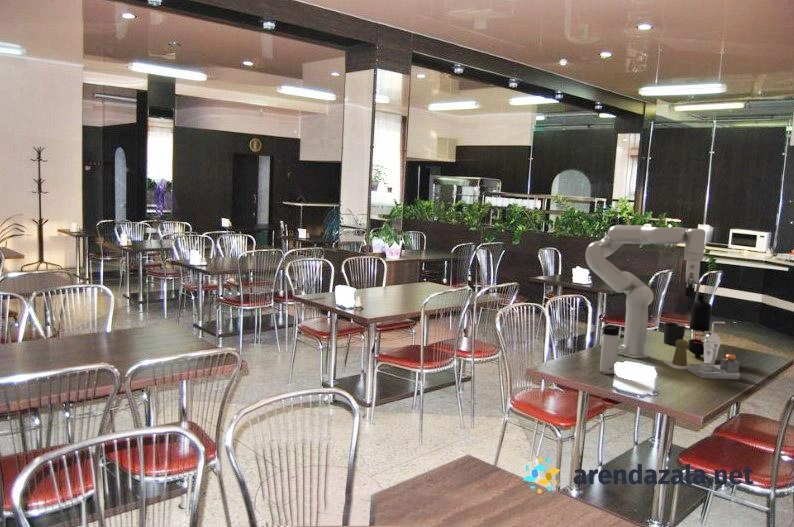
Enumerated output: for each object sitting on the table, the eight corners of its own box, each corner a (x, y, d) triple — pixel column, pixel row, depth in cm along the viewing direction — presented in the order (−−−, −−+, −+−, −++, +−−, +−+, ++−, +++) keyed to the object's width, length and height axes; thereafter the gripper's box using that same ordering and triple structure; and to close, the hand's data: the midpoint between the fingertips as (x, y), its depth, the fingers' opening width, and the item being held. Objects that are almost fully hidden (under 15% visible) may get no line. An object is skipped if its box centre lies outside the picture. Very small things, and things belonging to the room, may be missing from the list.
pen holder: (665, 345, 305) (667, 326, 303) (660, 341, 314) (662, 322, 313) (685, 347, 303) (687, 327, 302) (679, 342, 312) (681, 323, 311)
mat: (674, 368, 263) (674, 367, 263) (663, 362, 273) (663, 360, 273) (696, 369, 263) (696, 368, 263) (685, 362, 273) (685, 361, 273)
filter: (705, 361, 276) (712, 297, 273) (684, 357, 282) (690, 294, 278) (711, 355, 287) (717, 293, 284) (690, 352, 293) (696, 291, 289)
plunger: (727, 369, 252) (729, 356, 251) (722, 367, 256) (724, 353, 255) (736, 369, 252) (737, 356, 251) (731, 367, 256) (732, 354, 255)
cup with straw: (711, 360, 280) (715, 317, 277) (725, 365, 271) (729, 322, 269) (694, 360, 278) (699, 317, 276) (708, 365, 270) (712, 322, 267)
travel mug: (614, 376, 248) (618, 328, 246) (597, 373, 252) (601, 326, 249) (617, 372, 253) (621, 326, 251) (601, 369, 257) (605, 323, 254)
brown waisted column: (675, 365, 265) (678, 341, 264) (669, 362, 271) (672, 338, 270) (689, 366, 265) (692, 341, 264) (683, 362, 271) (685, 338, 270)
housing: (701, 378, 250) (703, 361, 249) (686, 369, 262) (688, 354, 261) (739, 379, 251) (741, 362, 250) (722, 370, 263) (724, 355, 262)
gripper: (702, 259, 256) (698, 299, 258) (703, 256, 271) (699, 293, 273) (683, 257, 259) (679, 296, 261) (685, 254, 275) (681, 291, 277)
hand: (689, 295), depth 267 cm, fingers open, 9 cm apart
